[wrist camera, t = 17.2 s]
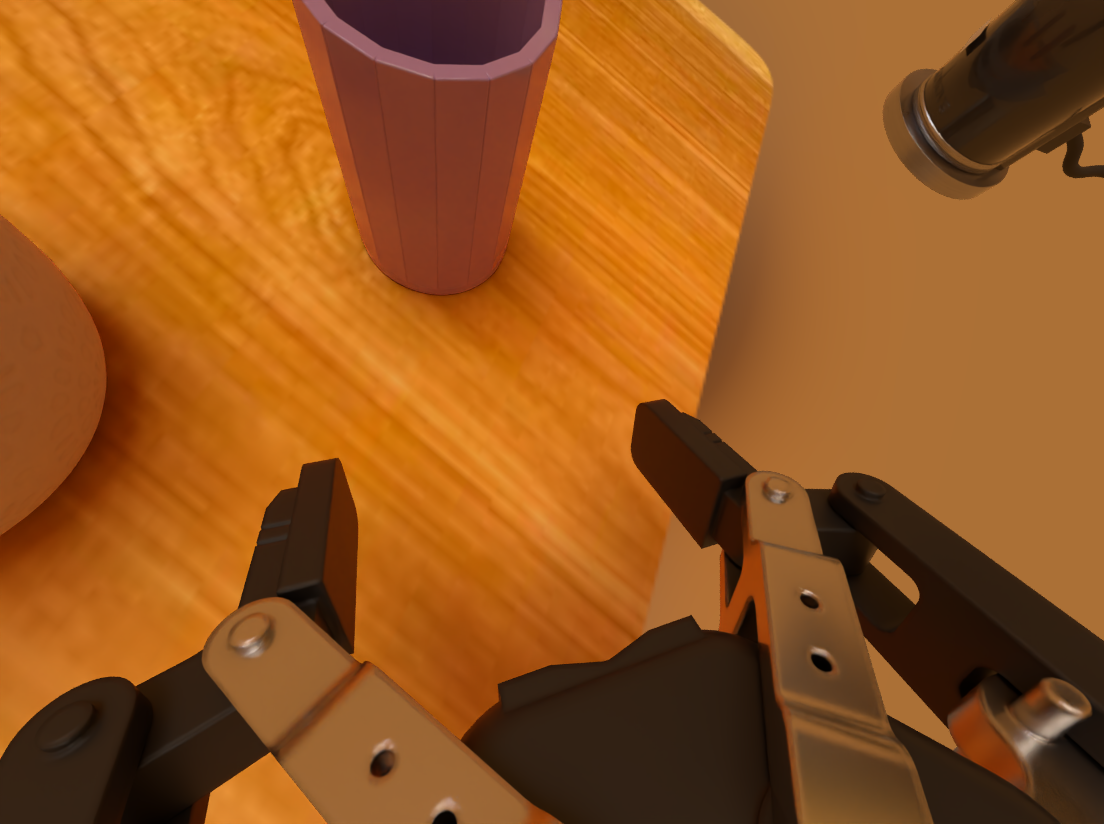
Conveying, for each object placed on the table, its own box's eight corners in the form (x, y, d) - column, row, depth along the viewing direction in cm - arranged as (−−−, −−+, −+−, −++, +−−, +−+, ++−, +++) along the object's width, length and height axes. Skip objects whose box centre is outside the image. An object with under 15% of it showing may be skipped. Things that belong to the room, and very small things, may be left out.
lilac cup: (514, 192, 21) (572, -69, 12) (495, 309, 20) (546, 114, 10) (378, 154, 20) (319, -174, 10) (345, 276, 18) (240, 17, 9)
